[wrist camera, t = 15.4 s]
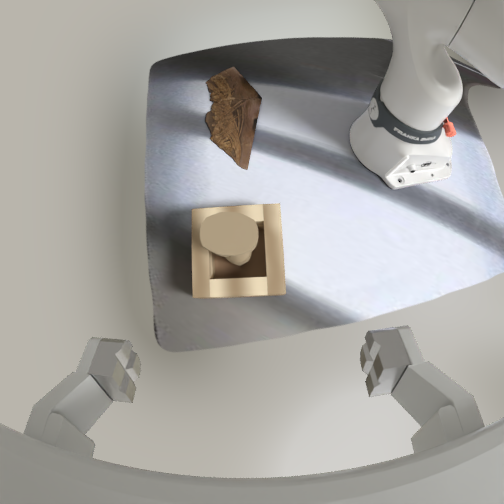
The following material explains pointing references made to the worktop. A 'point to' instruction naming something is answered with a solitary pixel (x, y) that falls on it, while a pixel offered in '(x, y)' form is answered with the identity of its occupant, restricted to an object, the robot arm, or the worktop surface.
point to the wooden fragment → (233, 114)
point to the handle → (230, 236)
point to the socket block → (247, 275)
